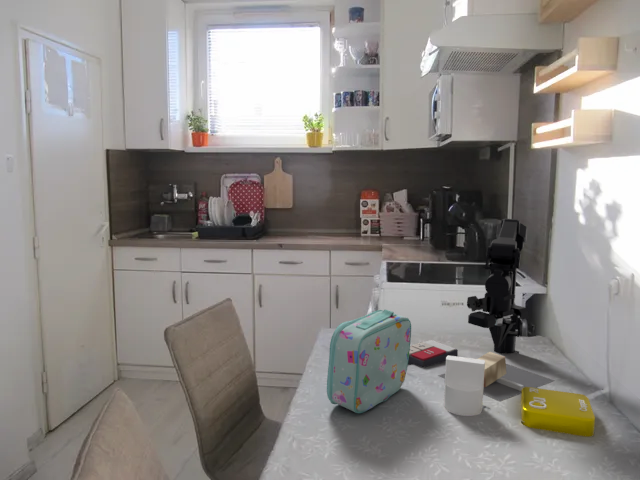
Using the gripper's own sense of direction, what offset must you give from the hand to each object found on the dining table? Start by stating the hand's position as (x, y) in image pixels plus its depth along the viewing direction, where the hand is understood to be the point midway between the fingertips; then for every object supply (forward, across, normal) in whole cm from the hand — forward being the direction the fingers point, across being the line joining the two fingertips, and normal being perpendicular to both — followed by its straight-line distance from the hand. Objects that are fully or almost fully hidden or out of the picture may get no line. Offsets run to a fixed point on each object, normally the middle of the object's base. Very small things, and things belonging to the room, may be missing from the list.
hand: (496, 346), depth 150 cm
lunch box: (+10, +35, -11) cm, 38 cm away
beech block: (+5, -1, 0) cm, 5 cm away
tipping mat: (+10, -1, 0) cm, 10 cm away
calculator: (+10, +3, -22) cm, 25 cm away
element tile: (+10, +7, +22) cm, 25 cm away
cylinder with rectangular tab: (+10, +20, +6) cm, 23 cm away
